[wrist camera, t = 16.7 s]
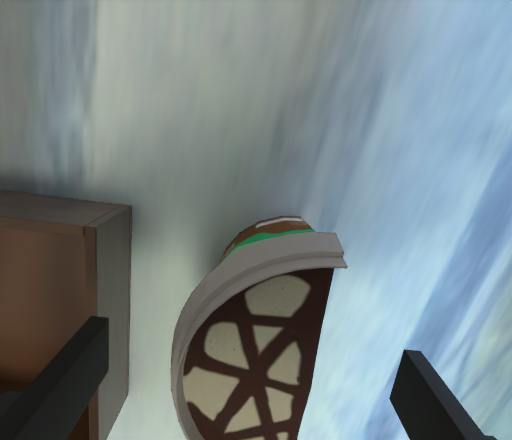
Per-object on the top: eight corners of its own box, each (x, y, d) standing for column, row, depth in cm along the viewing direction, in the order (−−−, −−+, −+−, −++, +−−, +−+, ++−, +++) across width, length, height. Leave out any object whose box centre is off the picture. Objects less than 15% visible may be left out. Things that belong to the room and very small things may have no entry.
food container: (208, 182, 20) (167, 229, 10) (304, 194, 20) (351, 251, 10) (193, 346, 23) (151, 498, 14) (275, 354, 23) (291, 510, 14)
